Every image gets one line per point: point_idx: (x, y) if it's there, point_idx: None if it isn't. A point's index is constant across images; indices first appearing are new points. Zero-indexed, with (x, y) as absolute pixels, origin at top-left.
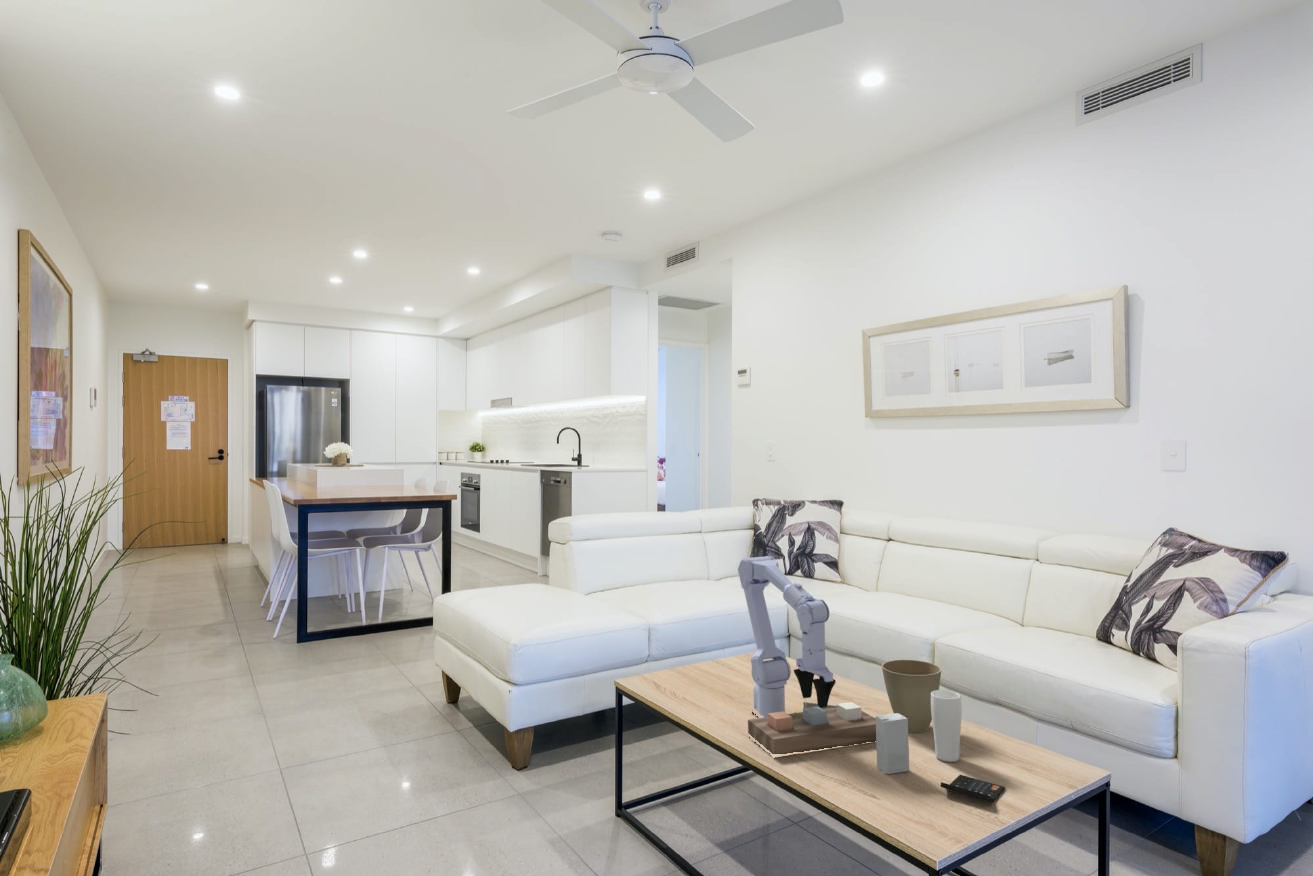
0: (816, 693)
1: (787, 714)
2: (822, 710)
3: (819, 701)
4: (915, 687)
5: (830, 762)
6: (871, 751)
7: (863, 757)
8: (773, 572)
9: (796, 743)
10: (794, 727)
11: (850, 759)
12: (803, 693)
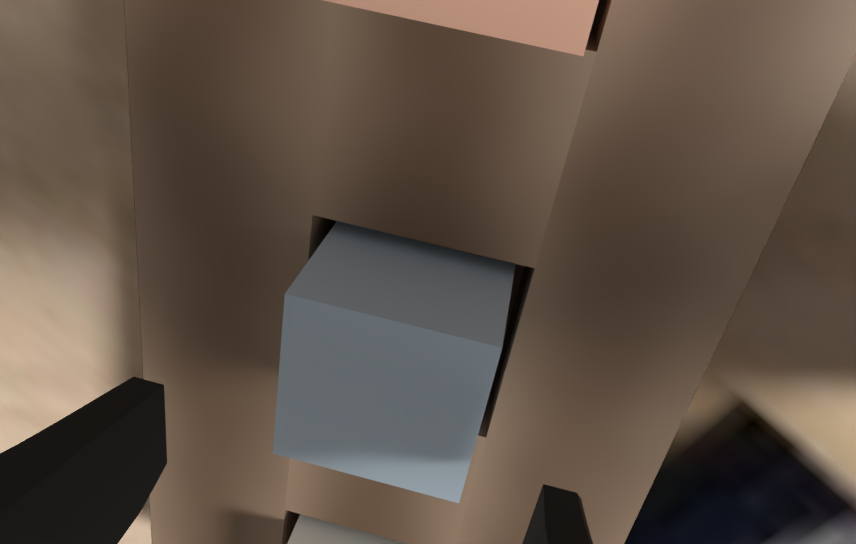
0: (8, 503)
1: (427, 9)
2: (331, 453)
3: (58, 424)
4: None
5: (6, 20)
6: (105, 380)
7: (35, 278)
8: None
9: None
10: (362, 22)
11: (25, 187)
12: (543, 536)
